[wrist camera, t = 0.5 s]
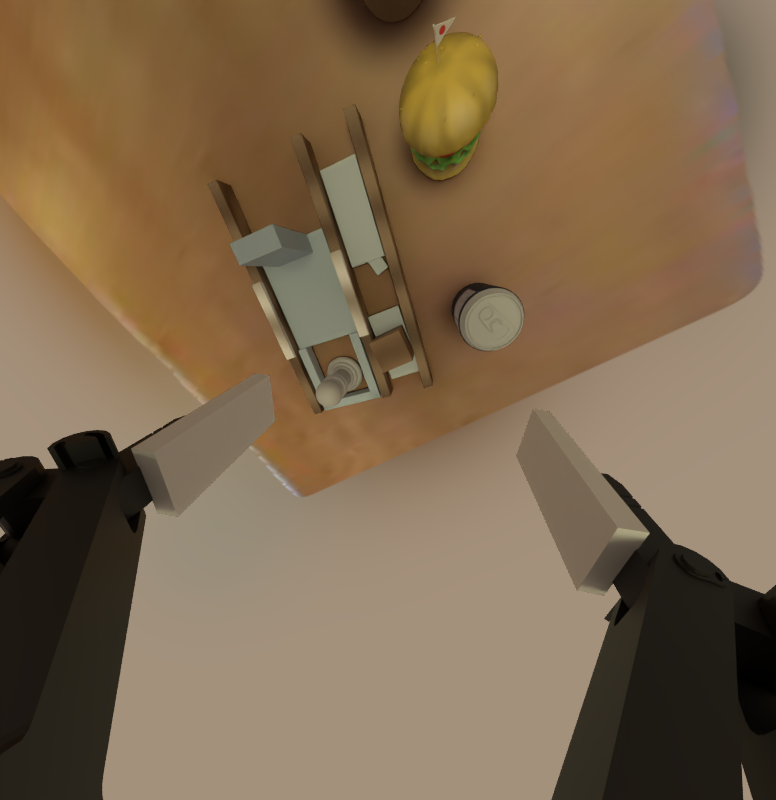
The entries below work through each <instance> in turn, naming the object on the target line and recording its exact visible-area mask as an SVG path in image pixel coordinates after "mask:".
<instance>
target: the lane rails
mask: <svg viewBox="0 0 776 800" xmlns="http://www.w3.org/2000/svg"><path fill="white" fill-rule="evenodd" d="M344 113H345V117H346V120H347V124H348V127H349V131H350V134H351V138H352V141H353V144H354V148H355V151H356V155H357V158H358V162H359V165H360V169H361V172H362V176H363V179H364V182H365V186H366V189H367V193H368V196H369V200H370V203H371V207H372V210H373V214H374V217H375V220H376V224H377V227H378V231H379V234H380V238H381V241H382V245H383V248H384V252H385V255H386V258H387V262H388V265H389V269H390V272H391V276H392V279H393V283H394V286H395V290H396V293H397V296H398V300H399V303H400V307H401V310H402V314H403V317H404V321H405V324H406V328H407V331H408V334H409V338H410V341H411V345H412V348H413V352H414V355H415V359H416V362H417V366H418V369H419V372H420V376H421V379H422V383H423V386H424V388H425V387H429V386H433V379H432V375H431V372H430V368H429V364H428V361H427V357H426V353H425V350H424V346H423V342H422V339H421V335H420V331H419V328H418V324H417V321H416V317H415V313H414V310H413V306H412V302H411V299H410V295H409V291H408V288H407V284H406V280H405V277H404V273H403V269H402V266H401V262H400V258H399V255H398V251H397V247H396V244H395V240H394V236H393V233H392V229H391V225H390V222H389V218H388V214H387V211H386V207H385V203H384V200H383V196H382V193H381V189H380V185H379V182H378V178H377V174H376V171H375V167H374V163H373V160H372V156H371V152H370V149H369V145H368V141H367V138H366V134H365V130H364V127H363V123H362V119H361V116H360V114H359V112H358V110H357V107H356V105H355V104H353V105H351V106H349V107H347V108H346V109H344ZM291 141H292V144H293V146H294V149H295V152H296V155H297V158H298V161H299V163H300V166H301V169H302V172H303V175H304V177H305V180H306V183H307V186H308V189H309V192H310V194H311V197H312V200H313V203H314V206H315V208H316V211H317V214H318V217H319V220H320V223H321V225H322V228H323V231H324V234H325V237H326V239H327V242H328V245H329V248H330V251H331V253H330V256H331V259H332V261H333V264H334V267H335V270H336V273H337V275H338V278H339V281H340V284H341V287H342V289H343V292H344V295H345V298H346V301H347V303H348V306H349V309H350V312H351V315H352V317H353V320H354V323H355V326H356V329H357V331H358V334H359V337H361V338H362V341H363V344H364V347H365V349H366V352H367V355H368V358H369V361H370V363H371V366H372V369H373V372H374V375H375V378H376V380H377V383H378V386H379V389H380V392H381V394H382V397H388V396H391V393H392V390H393V388H392V385H391V382H390V379H389V376H388V373H387V372H385V373H383V371H382V369H381V367H380V365H379V363H378V361H377V359H376V357H375V355H374V353H373V351H372V349H371V347H370V345H369V343H370V342H371V341H372V340H373V339H374V338H375V334H374V332H373V329H372V327H371V324H370V322H369V319H368V317H369V316H368V313H367V310H366V307H365V304H364V301H363V298H362V295H361V292H360V289H359V286H358V283H357V280H356V277H355V274H354V271H353V268H352V265H351V263H350V260H349V257H348V254H347V251H346V248H345V245H344V242H343V239H342V236H341V233H340V230H339V227H338V224H337V221H336V218H335V215H334V212H333V209H332V206H331V203H330V200H329V197H328V194H327V191H326V188H325V185H324V182H323V179H322V176H321V173H320V170H319V167H318V164H317V161H316V158H315V155H314V152H313V149H312V146H311V143H310V142H309V141H308V140H307V139H306V138H305V137H304V136H303V135H302V134H301V133H300V134H298V135H296V136H294V137H293V138H291ZM208 186H209V188H210V191H211V193H212V195H213V197H214V199H215V201H216V203H217V206H218V208H219V210H220V212H221V214H222V216H223V218H224V221H225V223H226V225H227V227H228V229H229V231H230V233H231V236H232V238H233V240H234V242H235V241H237V240H239V239H241V238H243V237H245V236H248V235H250V234H252V233H251V231H250V229H249V226H248V224H247V222H246V220H245V217H244V215H243V213H242V211H241V208H240V206H239V204H238V201H237V199H236V197H235V195H234V192H233V190H232V188H231V186H230V185H228V184H225V183H223V182H221V181H218V180H214V181H212V182H210V183H208ZM246 268H247V270H248V272H249V274H250V276H251V278H252V280H253V283H254V284H253V285H252V287H253V289H254V291H255V293H256V295H257V298H258V300H259V302H260V304H261V306H262V308H263V310H264V312H265V315H266V317H267V319H268V321H269V323H270V325H271V327H272V329H273V332H274V334H275V336H276V338H277V340H278V342H279V344H280V346H281V349H282V351H283V353H284V355H285V357H286V359H287V360H288V359H289V360H290V362H291V364H292V366H293V368H294V370H295V373H296V375H297V377H298V379H299V381H300V383H301V385H302V388H303V390H304V392H305V394H306V396H307V398H308V400H309V403H310V405H311V407H312V409H313V411H314V413H315V414H317V413H321V412H322V411H323V410H324V407H323V405H321V404H320V403H319V402H318V401H317V398H316V389H315V387H314V385H313V383H312V380H311V378H310V376H309V374H308V371H307V369H306V367H305V365H304V363H303V360H302V358H301V356H300V354H299V350H300V348H299V346H298V344H297V342H296V339H295V337H294V335H293V333H292V330H291V328H290V326H289V324H288V322H287V319H286V317H285V315H284V313H283V310H282V308H281V306H280V304H279V301H278V299H277V297H276V295H275V292H274V290H273V288H272V286H271V283H270V281H269V279H268V277H267V274H266V272H265V270H264V268H263V266H246Z"/></svg>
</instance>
